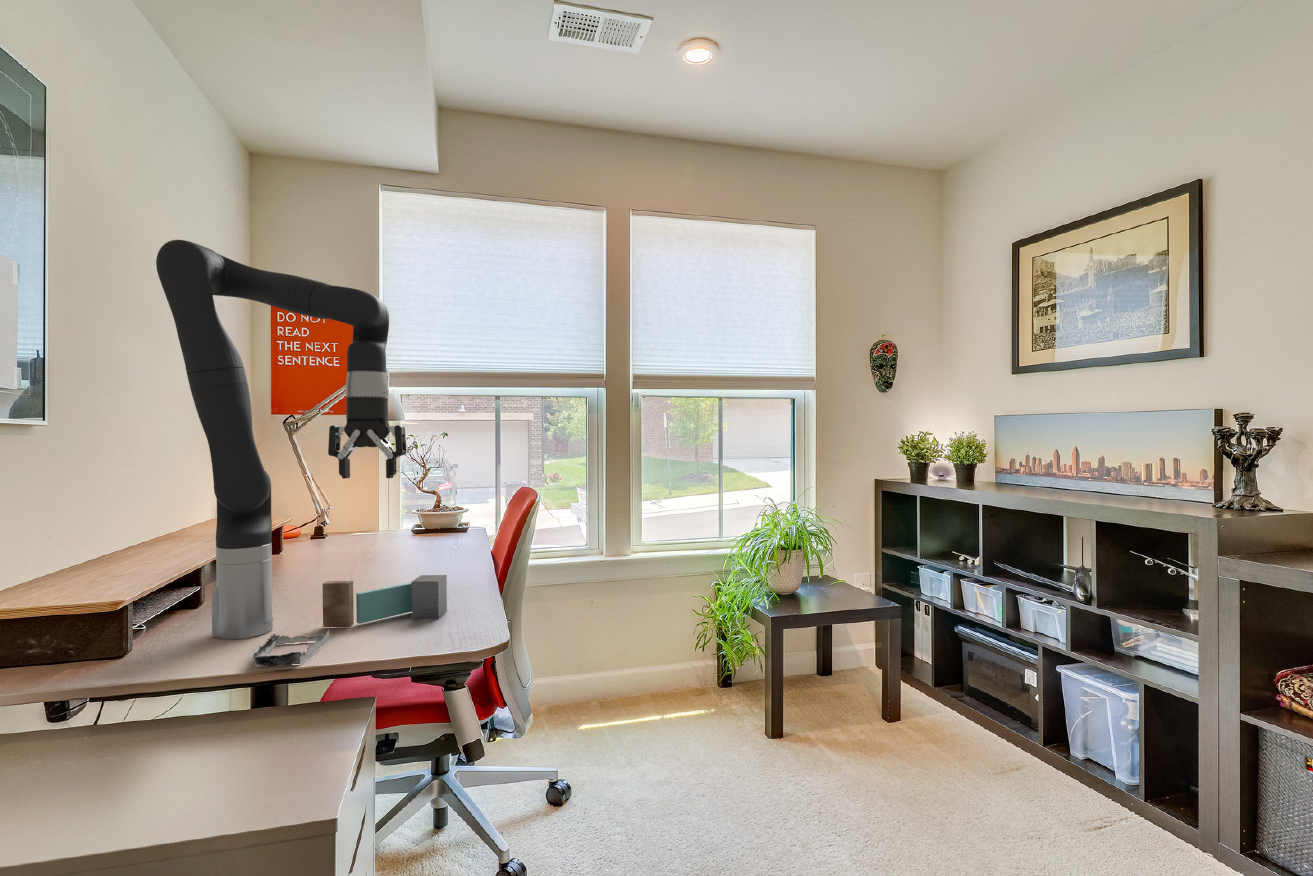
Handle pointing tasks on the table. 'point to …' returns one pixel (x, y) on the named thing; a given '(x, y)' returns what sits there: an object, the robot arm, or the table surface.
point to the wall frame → (338, 604)
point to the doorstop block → (429, 597)
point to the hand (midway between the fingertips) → (368, 478)
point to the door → (383, 602)
